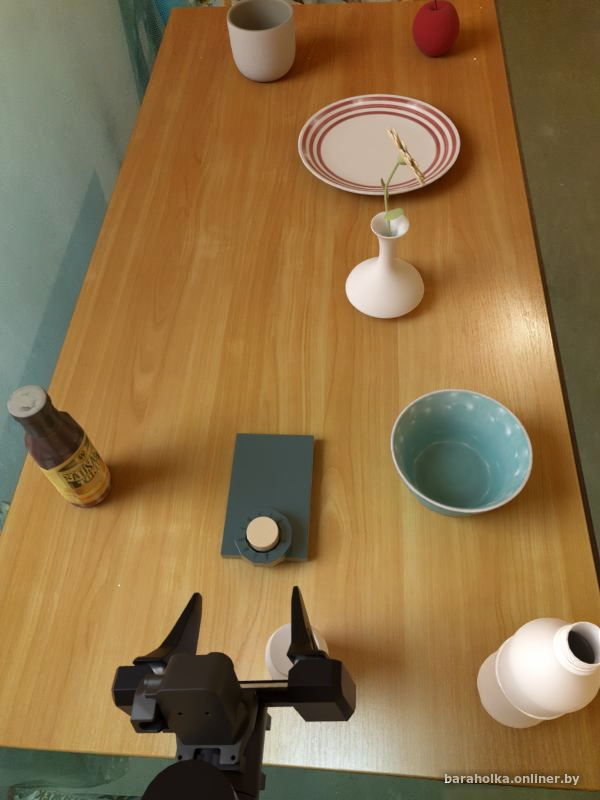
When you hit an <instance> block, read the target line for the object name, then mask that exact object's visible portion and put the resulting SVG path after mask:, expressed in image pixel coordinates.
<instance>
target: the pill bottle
mask: <svg viewBox="0 0 600 800" xmlns="http://www.w3.org/2000/svg"><path fill="white" fill-rule="evenodd" d="M311 628H312V632H313V635H314V638H315V642H316V644H317V647H318V649H319V650H323V651H325V652H326V653H327V654H328V655H329V656H330V654H329V647H328V644H327V642H326V639H325V637H324V636H323V634H322V633H321V632H320V630H318V629H317V628H316V627H314V626H313V625H311ZM290 644H291V622H288V623H285V624H283V625H281V626H280V627H278V628H277V629H276V630H275V631H274V632H273V634H272V635H271V636H270V637H269V639H268V641H267V644H266V646H265V651H264V661H265V667H266V669H267V672H268V675H269V676H270V678H271V680H288V671H289V670H290V669H291V668H292V667H293V666H294V665H293V664H292V662H291V661H290V660H289V658H288V657H287V651H288V649H289V646H290Z"/></svg>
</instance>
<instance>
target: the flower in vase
mask: <svg viewBox="0 0 600 800" xmlns="http://www.w3.org/2000/svg"><path fill="white" fill-rule="evenodd" d="M393 130H394V134H393V132H392V129H391V128H390V127H389V129H388V128H387V132H388V134H389V137H390V139H391V141H392V143H393V144H394V146H395V148H396V149H397V151H398V153H399V156H398V159H397V160H398V162H397V163H396V165H395V167H394V169H393V170H392V172H391V174H390V176H389V178H388V180H387V183H386V185H385V183H384V181H383V179H382V178H381V186H382V189H383V191H384V195H383V196H384V208H385V211H381V212H379V213H377V214H376V215H374V216H373V218H371V221H370V228H371V230H372V232H373V233H374V234H375V235H376V236H377V239H378V245H379V253H378V256H374V257H371V258H367V259H365V260H363V261H361V262H360V263H358V264H357V265H356V266H355V267H354V268H353V269H352V270H351V271H350V272H349V274H348V276H347V278H346V281H345V294H346V297H347V300H349V302H350V304H351V305H352V307H355V309H356V310H357V311H359V312H361V313H362V314H364V315H365V316H369V317H372V318H376V319H385V320H386V319H396V318H399V317H401V316H404V315H406V314H409V313H410V312H411V311H413V310H414V309H416V307H418V305H420V303H421V301H422V299H423V297H424V294H425V284H424V281H423V278H422V276H421V274H420V272H419V270H417V268H416V267H415V266H414V265H413V264H411V263H410V262H408V261H405V260H404V259H401V258H399V257H396V256H397V248H398V244H399V242H400V239H401V238H402V237H403V236H405V235H406V234H407V233H408V231H409V230H410V221H409V218H407V216H406V215H404V214H405V210H404V209H403V208H402V207H397V208H393V209H390V210H389V205H388V204H389V203H388V199H389V198H390V195H389V193H388V189H387V188H388V185H389V183H390V180H391V178H392V176H393V174H394V173H395V171H396V169H397V167H398V166H399V164H400V165H407V167H408V168H409V170H410V171H411V173H412V174H413V175H414V177H415V178H416V179H417V181H418V182H419V183H420V184H421V185H422V186H423V187H425V186H424V184H426V183H425V182H424V180H423V179H426V177H425V176H424V175H423V173H422V172H421V171H420V170H419V169H418V168H417V167H419V165H418V163H417V162H416V161H415V160H414V159H413V158H412V157H411V156H410V154H409V153H408V151H407V147H406V145H405V143H404V141H400V139H399V136H398V134H397V132H396V130H395V128H394V129H393ZM420 176H421V177H422V178H423V179H422V178H421V177H420ZM423 183H424V184H423Z"/></svg>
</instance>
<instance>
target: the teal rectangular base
mask: <svg viewBox="0 0 600 800" xmlns="http://www.w3.org/2000/svg"><path fill="white" fill-rule="evenodd" d="M314 455H315V435H314V434H313V435H311V434H307V435H306V434H283V433H282V434H281V433H280V434H279V433H250V432H249V433H248V432H245V433H244V432H236V434H235V441H234V449H233V457H232V466H231V471H230V472H231V473H230V479H229V486H228V487H229V488H228V495H227V503H226V510H225V516H224V517H225V518H224V524H223V525H224V526H223V532H222V540H221V541H222V542H221V546H220V547H221V548H220V556H221V558H222V559H228V560H229V559H230V560H231V559H232V560H244V561H245V562H247V563H248V564H249V565H251V566H252V567H254V568H272V567H274V566H276V565H278V564H280V563H282V562H295V563H308V556H309V555H308V554H309V553H308V552H309V538H310V522H311V521H310V520H311V506H312V505H311V504H312V487H313V474H314V473H313V472H314V471H313V469H314V457H315V456H314ZM258 517H268V518H271V519H272V520H274V521H275V523H276V524H277V526H278V530H279V540H278V543H277V544H276V545H275V547H273V548H272V549H270V550H268V551H258V550H256V549H254V548H253V547H252V546H251V545H250V543H249V541H248V538H247V528H248V525H249V524H250V523H251V522H252V521H253V520H254V519H256V518H258Z"/></svg>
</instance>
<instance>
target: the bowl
mask: <svg viewBox="0 0 600 800" xmlns="http://www.w3.org/2000/svg"><path fill="white" fill-rule="evenodd" d="M389 442H390V443H389V444H390V456H391V459H392V463H393V465H394V467H395V469H396V471H397V474H398V475H399V477H400V478H401V480H402V481H403V483H404V485H405V487H406V488H407V489H408V490H409V492H410V493H411V494H412V495H413V497H414V498H415V499H416V500H417V501H418V502H419V503H420V504H421V505H423V507H425V508H426V509H428V510H430V512H433V513H436V514H437V515H441V516H444V517H450V518H465V517H471V516H475V515H479V514H481V515H482V514H484V513H487V512H490V511H493V510H496V509H498V508H500V507H503V506H505V505H506V504H508V503H510V502H511V501H512V500H513V499H514V498H516V497H517V496H518V495H519V494H520V492H522V490H523V489H524V488H525V486H526V485H527V483H528V482H529V481H528V480H529V479H530V476H531V473H532V468H533V464H534V463H533V462H534V461H533V460H534V453H533V446H532V442H531V439H530V436H529V434H528V431H527V430H526V427H525V426H524V424H523V423H522V421H521V420H520V419H519V418H518V417H517V415H516V414H515V413H514V412H512V410H510V408H508V407H507V406H505V405H504V404H503V403H501V402H500V401H499V400H496V399H495V398H493V397H490V396H488V395H486V394H484V393H480V392H478V391H474V390H469V389H462V388H445V389H439V390H434V391H431V392H428V393H426V394H425V393H424V394H423V395H421V396H419V397H417V398H416V399H414V400H412V401H411V402H410V403H408V404H407V405H406V406H405V407H404V408H403V409H402V411H401V412H400V413H399V414H398V416H397V417H396V420H395V421H394V423H393V426H392V428H391V433H390V440H389Z"/></svg>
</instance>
